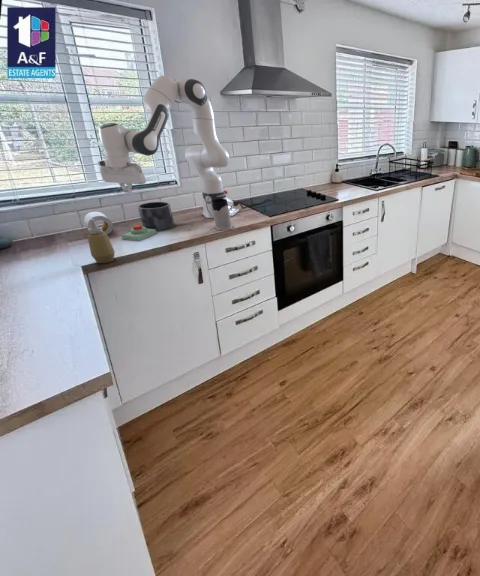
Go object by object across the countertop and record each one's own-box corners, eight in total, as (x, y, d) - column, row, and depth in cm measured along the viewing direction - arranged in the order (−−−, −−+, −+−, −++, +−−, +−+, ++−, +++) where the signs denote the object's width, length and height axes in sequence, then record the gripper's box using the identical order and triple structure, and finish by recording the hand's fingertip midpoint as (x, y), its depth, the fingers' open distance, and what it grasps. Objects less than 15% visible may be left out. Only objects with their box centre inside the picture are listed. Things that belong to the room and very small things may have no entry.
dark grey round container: (156, 222, 205) (151, 200, 200) (180, 224, 203) (175, 202, 198) (136, 230, 192) (130, 207, 187) (162, 232, 190) (156, 209, 185)
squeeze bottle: (92, 266, 151) (77, 223, 143) (95, 259, 157) (81, 218, 149) (116, 263, 154) (102, 221, 146) (118, 256, 161) (105, 216, 153)
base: (141, 231, 190) (138, 224, 189) (156, 233, 189) (154, 225, 187) (122, 239, 180) (120, 231, 178) (138, 240, 179) (136, 232, 177)
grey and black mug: (224, 231, 196) (219, 203, 189) (204, 227, 200) (198, 199, 194) (236, 226, 203) (231, 199, 196) (216, 223, 208) (211, 196, 201)
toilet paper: (115, 233, 187) (109, 214, 182) (91, 237, 180) (84, 217, 176) (110, 228, 193) (105, 210, 188) (87, 232, 186) (80, 213, 182)
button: (137, 227, 185) (136, 224, 184) (144, 228, 184) (143, 225, 183) (132, 230, 182) (131, 226, 181) (138, 230, 181) (137, 227, 180)
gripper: (144, 162, 170) (152, 192, 176) (105, 159, 173) (114, 189, 179) (134, 164, 164) (142, 195, 171) (94, 161, 167) (104, 192, 174)
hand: (128, 192), depth 175 cm, fingers closed
